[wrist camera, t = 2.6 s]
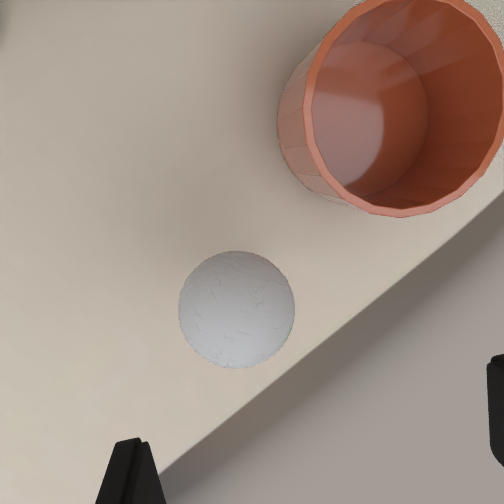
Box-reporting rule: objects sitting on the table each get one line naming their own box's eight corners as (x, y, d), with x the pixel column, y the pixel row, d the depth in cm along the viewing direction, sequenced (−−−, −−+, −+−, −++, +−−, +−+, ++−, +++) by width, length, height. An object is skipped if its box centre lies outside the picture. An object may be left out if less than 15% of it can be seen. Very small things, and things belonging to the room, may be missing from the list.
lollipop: (244, 311, 37) (269, 410, 22) (173, 280, 35) (151, 364, 21) (280, 243, 36) (330, 301, 21) (208, 209, 34) (210, 245, 20)
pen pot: (289, 214, 35) (318, 234, 26) (265, 49, 32) (288, 4, 23) (434, 187, 36) (512, 197, 27) (425, 24, 33) (510, -29, 24)
